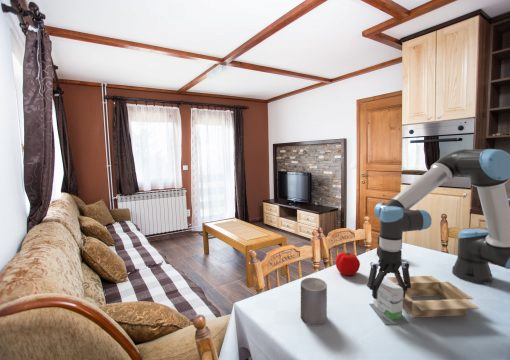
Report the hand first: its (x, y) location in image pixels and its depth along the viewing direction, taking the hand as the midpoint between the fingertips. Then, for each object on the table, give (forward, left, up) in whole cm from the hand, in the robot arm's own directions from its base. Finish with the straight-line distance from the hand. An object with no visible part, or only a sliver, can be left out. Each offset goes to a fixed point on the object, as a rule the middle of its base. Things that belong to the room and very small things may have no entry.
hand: (388, 305), depth 103 cm
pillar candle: (+29, 0, -4) cm, 29 cm away
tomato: (+3, -35, -4) cm, 35 cm away
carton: (-18, -5, -3) cm, 19 cm away
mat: (0, 0, -3) cm, 3 cm away
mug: (-27, -53, -4) cm, 59 cm away
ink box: (0, 0, -3) cm, 3 cm away
